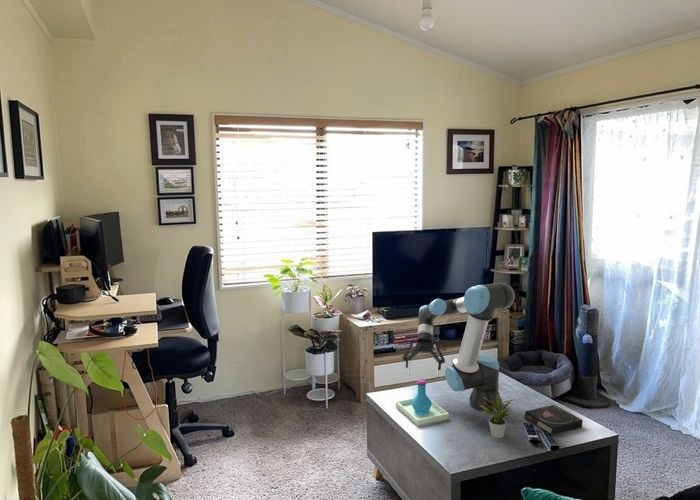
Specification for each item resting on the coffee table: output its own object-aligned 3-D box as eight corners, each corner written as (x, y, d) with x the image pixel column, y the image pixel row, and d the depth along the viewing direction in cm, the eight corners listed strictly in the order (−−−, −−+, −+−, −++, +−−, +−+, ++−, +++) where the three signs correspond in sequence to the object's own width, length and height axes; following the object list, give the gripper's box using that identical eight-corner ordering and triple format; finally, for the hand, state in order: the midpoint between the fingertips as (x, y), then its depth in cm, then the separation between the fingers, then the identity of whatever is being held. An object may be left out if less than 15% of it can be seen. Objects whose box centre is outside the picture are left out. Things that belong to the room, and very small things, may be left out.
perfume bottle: (433, 415, 234) (433, 384, 232) (413, 416, 234) (413, 385, 232) (429, 406, 244) (429, 376, 241) (410, 407, 243) (409, 377, 241)
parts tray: (448, 419, 232) (448, 413, 232) (417, 426, 226) (417, 420, 226) (425, 401, 251) (425, 395, 251) (395, 407, 246) (395, 401, 245)
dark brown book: (524, 419, 231) (524, 411, 231) (554, 412, 238) (554, 404, 237) (550, 436, 216) (551, 427, 216) (582, 428, 223) (582, 419, 222)
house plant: (502, 423, 228) (503, 388, 225) (523, 437, 215) (524, 400, 213) (475, 429, 223) (475, 393, 220) (495, 444, 210) (495, 406, 207)
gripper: (450, 339, 258) (449, 380, 245) (400, 337, 263) (397, 376, 251) (450, 332, 252) (449, 373, 239) (399, 330, 257) (395, 370, 245)
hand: (422, 375), depth 245 cm, fingers open, 13 cm apart
